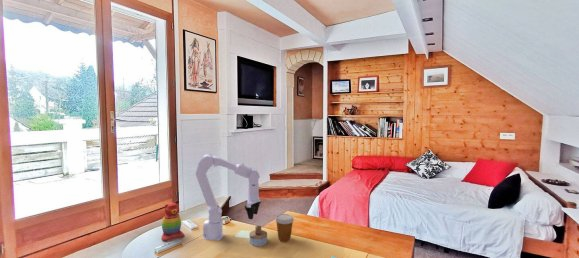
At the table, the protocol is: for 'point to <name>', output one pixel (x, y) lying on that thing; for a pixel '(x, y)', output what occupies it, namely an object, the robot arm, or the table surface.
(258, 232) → the lid
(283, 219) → the disposable coffee cup
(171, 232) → the stacking bear
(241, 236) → the mat
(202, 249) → the table surface
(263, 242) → the bowl
